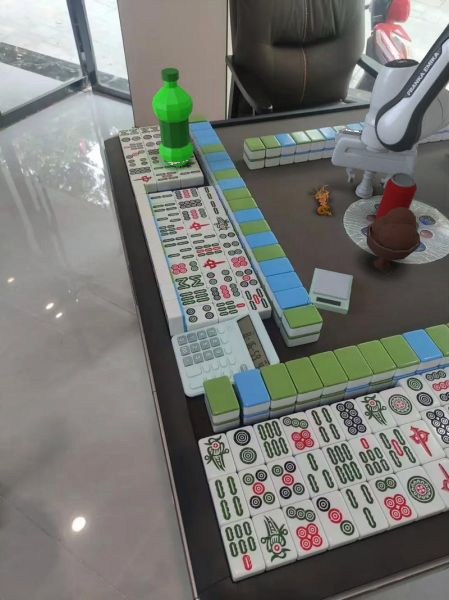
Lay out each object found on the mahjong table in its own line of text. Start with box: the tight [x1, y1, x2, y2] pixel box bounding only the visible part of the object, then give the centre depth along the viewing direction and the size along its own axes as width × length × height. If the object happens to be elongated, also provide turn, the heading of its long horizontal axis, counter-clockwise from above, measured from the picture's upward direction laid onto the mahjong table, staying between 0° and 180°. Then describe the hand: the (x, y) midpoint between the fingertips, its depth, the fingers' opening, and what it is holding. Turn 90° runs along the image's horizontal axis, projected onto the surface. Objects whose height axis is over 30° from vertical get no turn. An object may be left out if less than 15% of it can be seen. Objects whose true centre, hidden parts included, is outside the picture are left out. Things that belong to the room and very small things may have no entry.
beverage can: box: [375, 173, 418, 220], centre depth 103 cm, size 7×7×12 cm
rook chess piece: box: [355, 170, 378, 199], centre depth 112 cm, size 4×4×8 cm
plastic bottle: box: [151, 67, 195, 168], centre depth 116 cm, size 10×10×25 cm
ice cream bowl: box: [366, 207, 421, 271], centre depth 90 cm, size 11×11×15 cm
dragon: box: [311, 184, 332, 216], centre depth 111 cm, size 4×11×4 cm, turn 178°
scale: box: [308, 267, 354, 315], centre depth 89 cm, size 8×10×3 cm
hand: (366, 184), depth 113 cm, fingers open, 7 cm apart
